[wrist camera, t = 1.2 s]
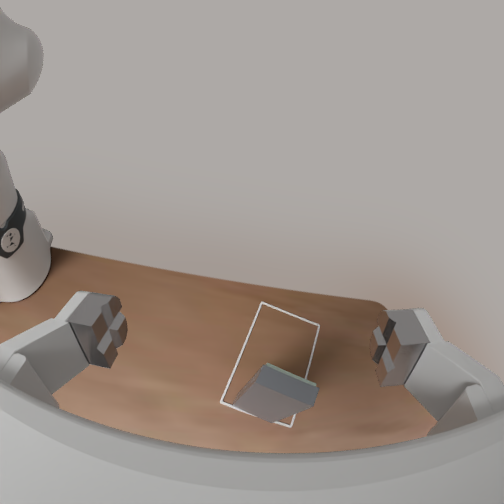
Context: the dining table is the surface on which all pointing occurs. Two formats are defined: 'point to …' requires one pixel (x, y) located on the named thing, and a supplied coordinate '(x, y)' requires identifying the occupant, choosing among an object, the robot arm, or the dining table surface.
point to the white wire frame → (243, 350)
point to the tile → (276, 394)
